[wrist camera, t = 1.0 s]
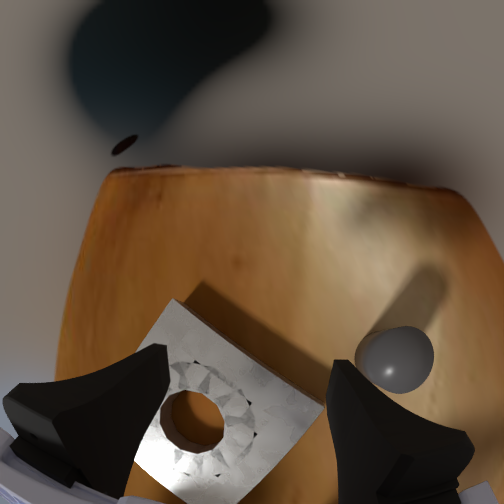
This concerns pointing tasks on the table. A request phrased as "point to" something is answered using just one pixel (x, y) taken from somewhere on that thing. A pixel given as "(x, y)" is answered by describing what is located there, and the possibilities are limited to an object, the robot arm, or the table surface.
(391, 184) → the table surface
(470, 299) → the table surface
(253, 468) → the grey square plate
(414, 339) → the grey rounded cylinder
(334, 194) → the table surface
